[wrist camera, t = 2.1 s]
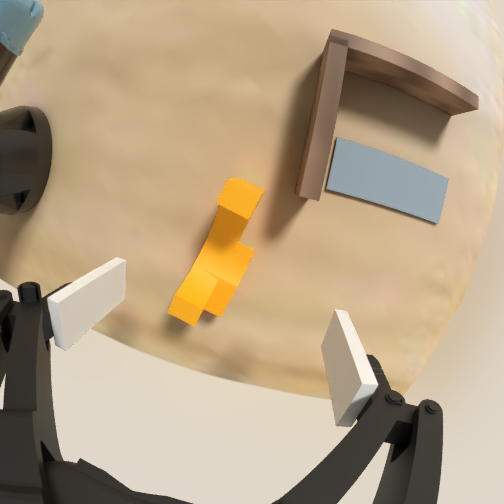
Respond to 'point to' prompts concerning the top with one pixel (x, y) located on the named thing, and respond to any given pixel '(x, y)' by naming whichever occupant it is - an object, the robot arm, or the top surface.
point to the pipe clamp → (219, 256)
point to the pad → (386, 180)
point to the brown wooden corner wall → (376, 68)
